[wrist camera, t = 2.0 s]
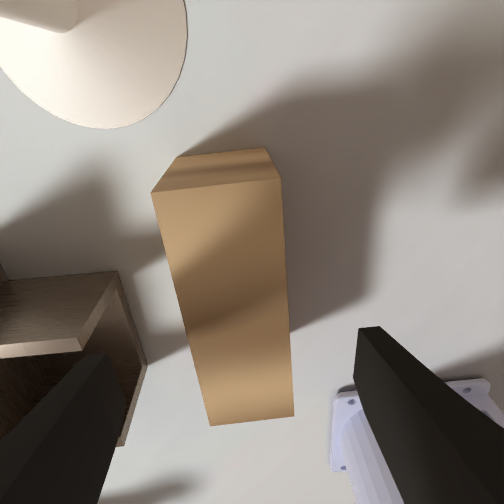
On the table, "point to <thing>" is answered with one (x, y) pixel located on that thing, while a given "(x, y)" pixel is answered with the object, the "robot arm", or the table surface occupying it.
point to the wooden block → (230, 279)
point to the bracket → (63, 339)
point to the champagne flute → (94, 56)
